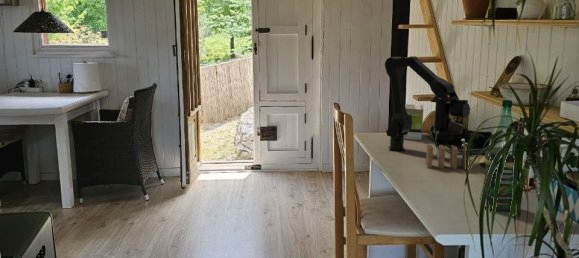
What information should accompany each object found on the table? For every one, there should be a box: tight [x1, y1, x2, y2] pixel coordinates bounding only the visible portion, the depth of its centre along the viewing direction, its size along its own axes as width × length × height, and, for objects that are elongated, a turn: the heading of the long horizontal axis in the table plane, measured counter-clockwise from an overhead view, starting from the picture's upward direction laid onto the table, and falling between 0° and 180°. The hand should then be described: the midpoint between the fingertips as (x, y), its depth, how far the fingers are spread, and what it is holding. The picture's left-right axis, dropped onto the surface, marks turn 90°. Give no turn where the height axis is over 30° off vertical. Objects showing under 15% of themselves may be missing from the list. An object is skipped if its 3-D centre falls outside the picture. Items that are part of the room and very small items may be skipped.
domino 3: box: [449, 144, 459, 170], centre depth 207 cm, size 5×2×8 cm, turn 174°
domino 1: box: [425, 144, 434, 169], centre depth 208 cm, size 5×2×8 cm, turn 174°
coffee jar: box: [479, 146, 514, 212], centre depth 162 cm, size 10×8×19 cm
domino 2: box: [437, 145, 446, 170], centre depth 207 cm, size 5×2×8 cm, turn 174°
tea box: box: [404, 103, 424, 141], centre depth 260 cm, size 15×10×15 cm
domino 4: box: [461, 145, 471, 171], centre depth 206 cm, size 5×2×8 cm, turn 174°
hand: (439, 152), depth 220 cm, fingers open, 6 cm apart
